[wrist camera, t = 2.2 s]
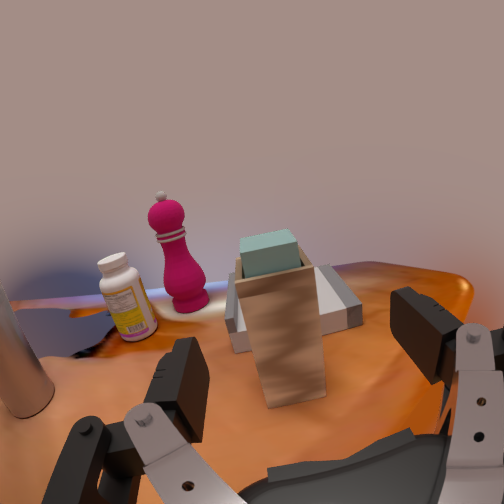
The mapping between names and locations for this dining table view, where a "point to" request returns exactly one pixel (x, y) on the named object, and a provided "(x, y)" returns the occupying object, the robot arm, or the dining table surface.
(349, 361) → the dining table surface
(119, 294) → the supplement bottle
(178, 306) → the pepper mill
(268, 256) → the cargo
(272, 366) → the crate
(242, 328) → the dock
